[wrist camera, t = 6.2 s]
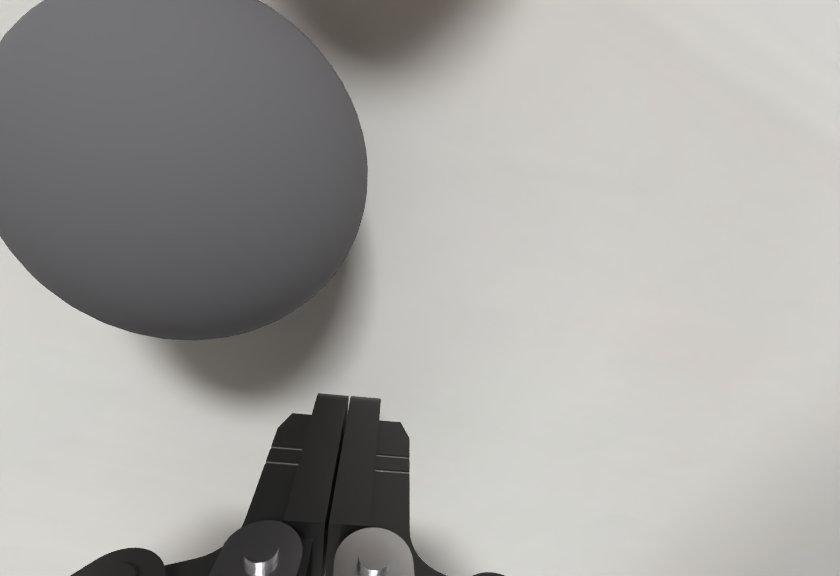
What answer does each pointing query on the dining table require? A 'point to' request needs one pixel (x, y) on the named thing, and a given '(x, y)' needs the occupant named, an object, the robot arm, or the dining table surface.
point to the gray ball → (176, 162)
